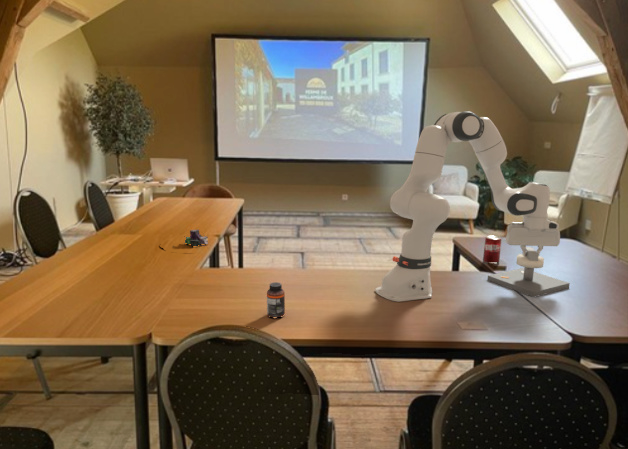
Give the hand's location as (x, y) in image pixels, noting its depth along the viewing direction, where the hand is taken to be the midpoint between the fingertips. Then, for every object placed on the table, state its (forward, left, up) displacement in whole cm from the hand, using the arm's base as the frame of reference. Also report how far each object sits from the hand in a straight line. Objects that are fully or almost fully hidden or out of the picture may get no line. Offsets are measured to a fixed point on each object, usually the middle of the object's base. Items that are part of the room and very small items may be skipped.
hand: (530, 255), depth 195 cm
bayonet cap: (0, 0, -4) cm, 4 cm away
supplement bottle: (-105, +19, -12) cm, 107 cm away
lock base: (0, 0, -12) cm, 12 cm away
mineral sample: (-103, +122, -13) cm, 161 cm away
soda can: (+11, +28, -12) cm, 32 cm away
